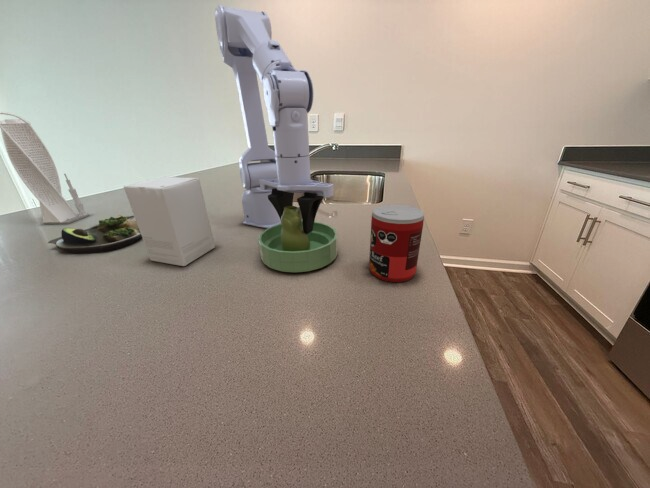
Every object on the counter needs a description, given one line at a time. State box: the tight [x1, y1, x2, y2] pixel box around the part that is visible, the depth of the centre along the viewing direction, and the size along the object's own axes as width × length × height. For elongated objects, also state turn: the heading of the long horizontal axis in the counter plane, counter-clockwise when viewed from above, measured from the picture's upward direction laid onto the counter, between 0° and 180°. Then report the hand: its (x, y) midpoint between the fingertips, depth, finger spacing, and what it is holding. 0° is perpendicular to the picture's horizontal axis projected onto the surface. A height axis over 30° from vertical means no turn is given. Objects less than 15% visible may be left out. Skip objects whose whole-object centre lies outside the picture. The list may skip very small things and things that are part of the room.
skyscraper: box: [0, 111, 90, 225], centre depth 68 cm, size 8×8×28 cm
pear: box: [281, 205, 310, 251], centre depth 47 cm, size 6×5×10 cm
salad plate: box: [47, 214, 142, 254], centre depth 62 cm, size 19×18×5 cm
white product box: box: [123, 176, 216, 267], centre depth 50 cm, size 9×9×15 cm
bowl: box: [258, 221, 339, 273], centre depth 51 cm, size 15×15×4 cm
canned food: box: [368, 204, 425, 283], centre depth 43 cm, size 8×8×11 cm
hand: (298, 230), depth 49 cm, fingers closed on pear, 4 cm apart
